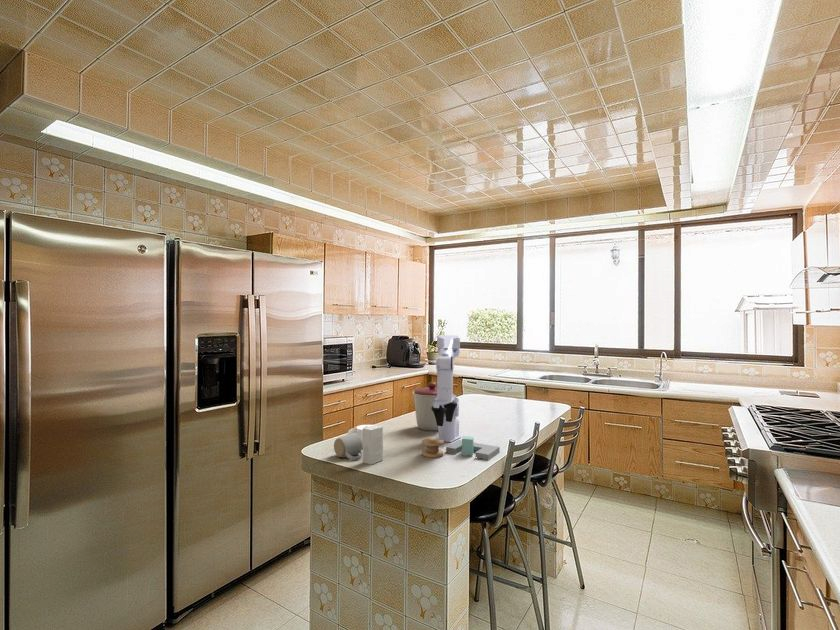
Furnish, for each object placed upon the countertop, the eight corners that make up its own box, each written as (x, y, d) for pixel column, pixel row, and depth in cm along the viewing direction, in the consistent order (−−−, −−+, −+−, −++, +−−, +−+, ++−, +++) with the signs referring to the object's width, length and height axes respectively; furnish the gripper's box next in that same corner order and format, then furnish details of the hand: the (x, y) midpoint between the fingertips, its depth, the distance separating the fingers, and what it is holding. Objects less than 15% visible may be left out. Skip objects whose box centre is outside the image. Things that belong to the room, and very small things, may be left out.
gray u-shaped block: (458, 445, 172) (458, 440, 172) (499, 452, 163) (499, 446, 163) (446, 452, 163) (446, 447, 163) (488, 460, 154) (488, 454, 154)
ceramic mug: (332, 455, 158) (332, 434, 158) (350, 450, 164) (351, 430, 164) (349, 463, 150) (349, 441, 150) (367, 458, 156) (368, 436, 156)
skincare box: (374, 458, 156) (374, 424, 156) (383, 460, 153) (383, 426, 153) (361, 462, 151) (362, 427, 151) (370, 465, 148) (370, 430, 148)
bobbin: (428, 449, 166) (428, 436, 166) (447, 453, 161) (447, 440, 161) (417, 455, 159) (417, 441, 159) (436, 459, 155) (436, 445, 155)
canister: (405, 425, 203) (406, 380, 203) (440, 422, 210) (440, 378, 210) (422, 435, 186) (422, 386, 186) (458, 431, 194) (459, 383, 194)
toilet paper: (345, 445, 170) (345, 428, 170) (368, 440, 178) (369, 423, 178) (357, 450, 164) (358, 432, 164) (381, 444, 172) (381, 427, 172)
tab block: (462, 451, 164) (462, 436, 164) (473, 452, 163) (473, 436, 163) (461, 455, 160) (462, 438, 160) (472, 455, 159) (472, 439, 159)
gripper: (443, 384, 173) (443, 418, 173) (426, 389, 160) (426, 426, 160) (460, 385, 169) (459, 420, 169) (443, 391, 157) (443, 428, 157)
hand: (444, 423), depth 164 cm, fingers open, 7 cm apart
